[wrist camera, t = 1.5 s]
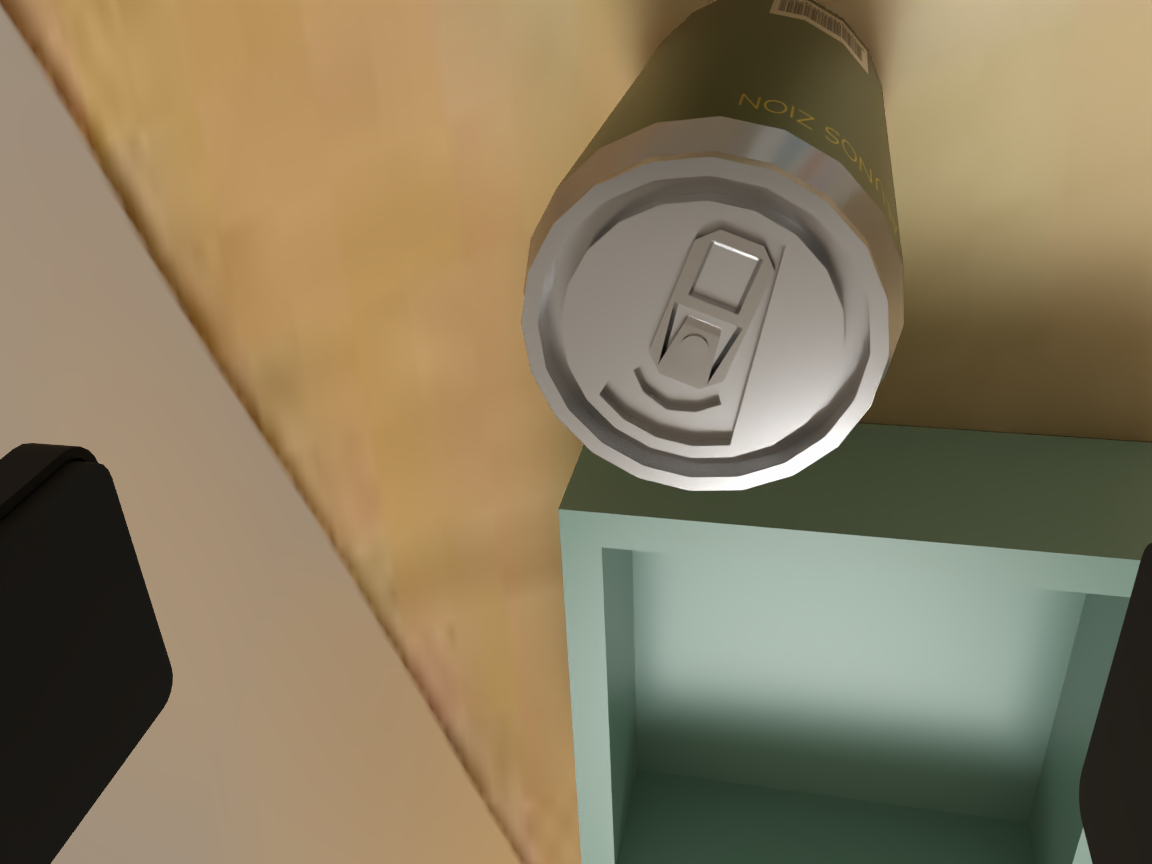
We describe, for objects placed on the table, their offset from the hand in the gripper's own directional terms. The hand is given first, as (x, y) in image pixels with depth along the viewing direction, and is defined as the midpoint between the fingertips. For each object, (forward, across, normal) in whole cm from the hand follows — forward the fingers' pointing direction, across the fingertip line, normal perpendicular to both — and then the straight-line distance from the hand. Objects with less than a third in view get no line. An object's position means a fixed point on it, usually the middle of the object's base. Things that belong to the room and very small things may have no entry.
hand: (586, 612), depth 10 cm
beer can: (+18, -1, 0) cm, 18 cm away
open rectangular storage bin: (+18, -4, +15) cm, 23 cm away
